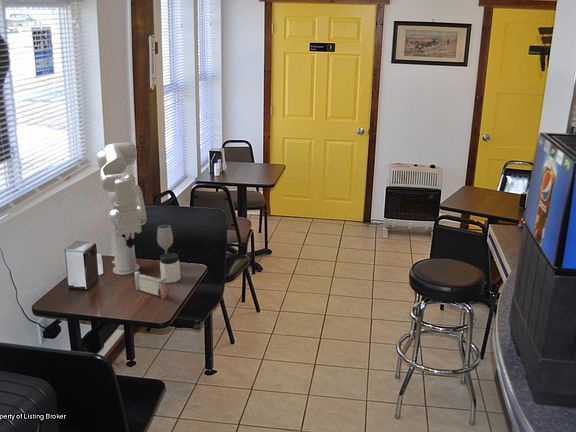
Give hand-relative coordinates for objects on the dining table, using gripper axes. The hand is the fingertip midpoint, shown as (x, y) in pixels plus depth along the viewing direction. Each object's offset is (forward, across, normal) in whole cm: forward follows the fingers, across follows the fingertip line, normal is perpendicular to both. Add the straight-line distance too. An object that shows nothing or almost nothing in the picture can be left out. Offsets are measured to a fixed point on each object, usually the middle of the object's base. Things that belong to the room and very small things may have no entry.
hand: (130, 246), depth 277 cm
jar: (+23, +19, +6) cm, 31 cm away
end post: (+22, +10, -12) cm, 27 cm away
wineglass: (+24, +22, +23) cm, 40 cm away
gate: (+22, +6, -3) cm, 23 cm away
